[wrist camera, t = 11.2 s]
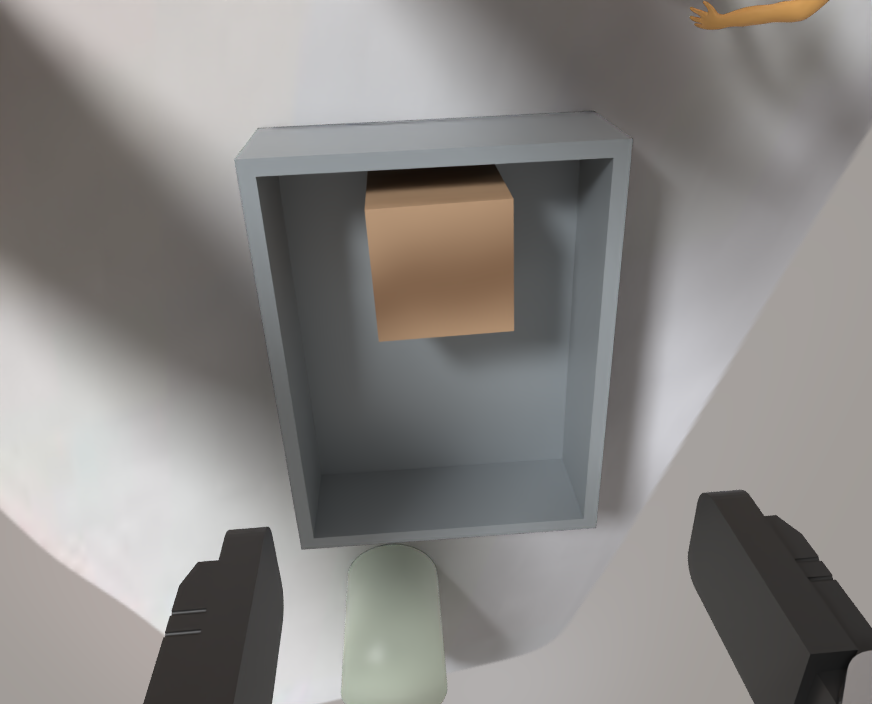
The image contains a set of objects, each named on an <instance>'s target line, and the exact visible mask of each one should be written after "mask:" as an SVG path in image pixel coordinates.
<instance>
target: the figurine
mask: <svg viewBox="0 0 872 704" xmlns="http://www.w3.org/2000/svg"><path fill="white" fill-rule="evenodd" d="M828 1H829V0H792V1H783V2H779V3H775V4H770V5H757V6H750V7H745V8H741V9H738V10H735V11H732V12H729V13H726V14H719V13H718V12H717V11H716V10H715V8H714V7H713V6H712V5H711V4H710V3H708V2H706V1H703V4H704V5H705V6H706V7H707V9H708V12H705V11H702V10H699V9H696V8H694V7H690V10H692V11H693V12H694V13H696V14H698V15H699V16H700V17H701V18H699V17H694V16H690V19H691V20H693V21H695V22H698V23H701V24H698V23H695V24H694V25H695V26H697V27H699V28H703V29H709V30H714V29H722V28H726V27H734V26H738V27H744V26H751V25H758V24H765V23H771V22H797V21H802V20H804V19H807V18H808V17H810V16H811V15H813V14H814V13H815V12H817V11H818V10H819V9H820V8H821V7H822V6H824V5H825V4H826V3H827V2H828Z"/></svg>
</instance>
